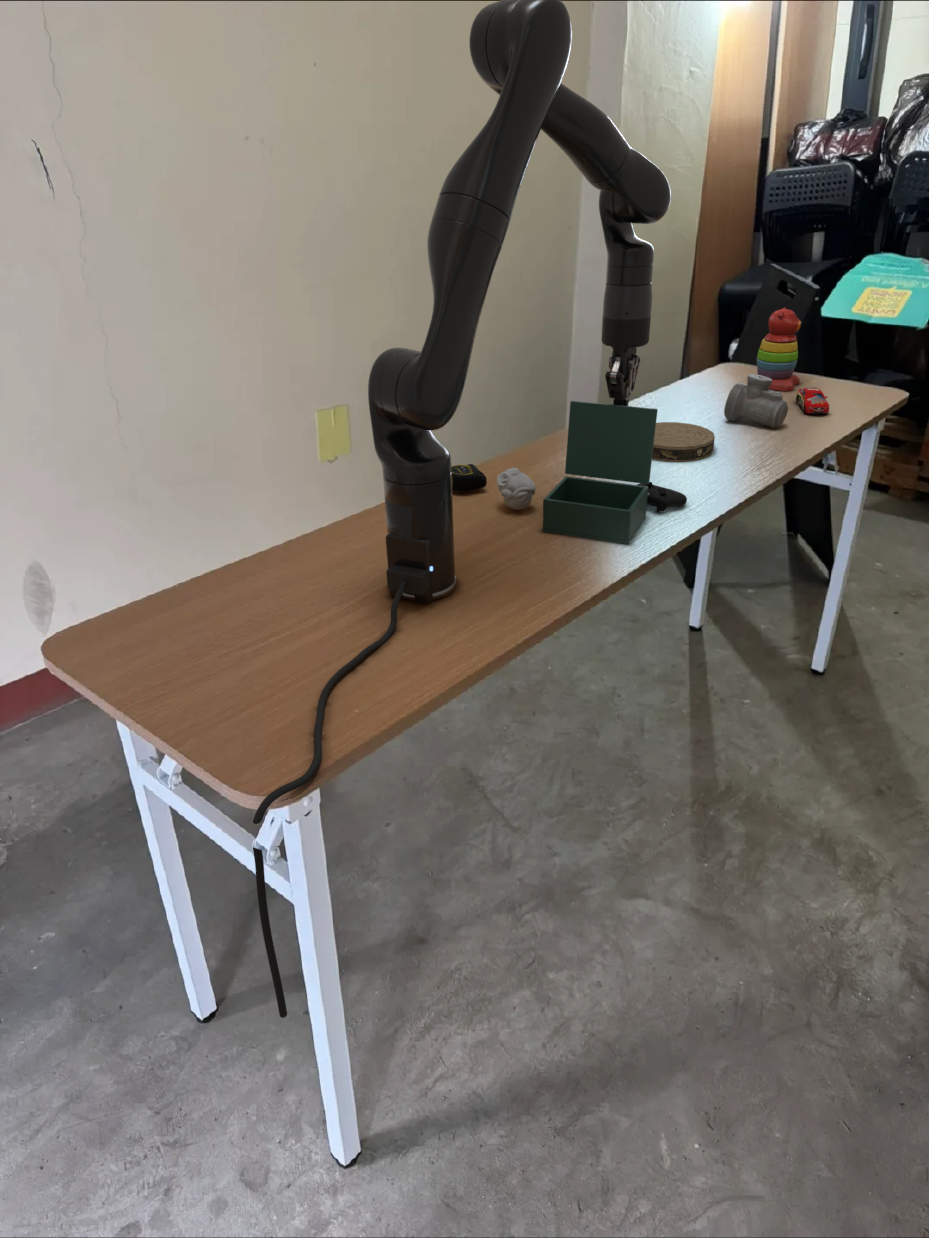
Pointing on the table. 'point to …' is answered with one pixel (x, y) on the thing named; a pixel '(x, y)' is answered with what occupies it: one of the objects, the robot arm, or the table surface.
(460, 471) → the tape measure
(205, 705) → the table surface
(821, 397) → the race car
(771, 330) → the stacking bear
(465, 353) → the robot arm
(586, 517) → the chest
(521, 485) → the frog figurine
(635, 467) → the lid
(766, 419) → the pipe fitting
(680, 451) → the wood slice coaster
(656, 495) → the game controller
